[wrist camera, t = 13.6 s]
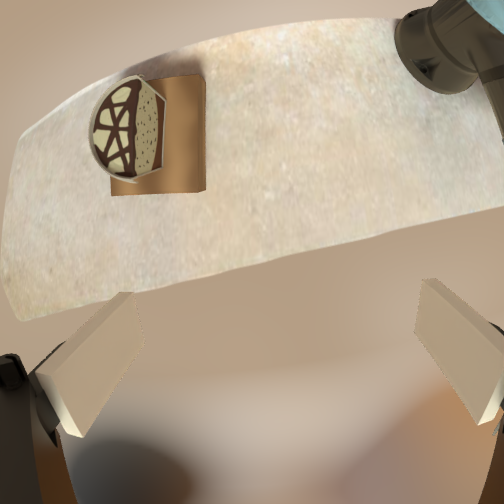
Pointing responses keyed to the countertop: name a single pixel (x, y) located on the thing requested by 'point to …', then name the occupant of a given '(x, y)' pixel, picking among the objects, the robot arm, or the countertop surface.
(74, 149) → the countertop surface
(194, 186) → the walnut block
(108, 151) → the food container
